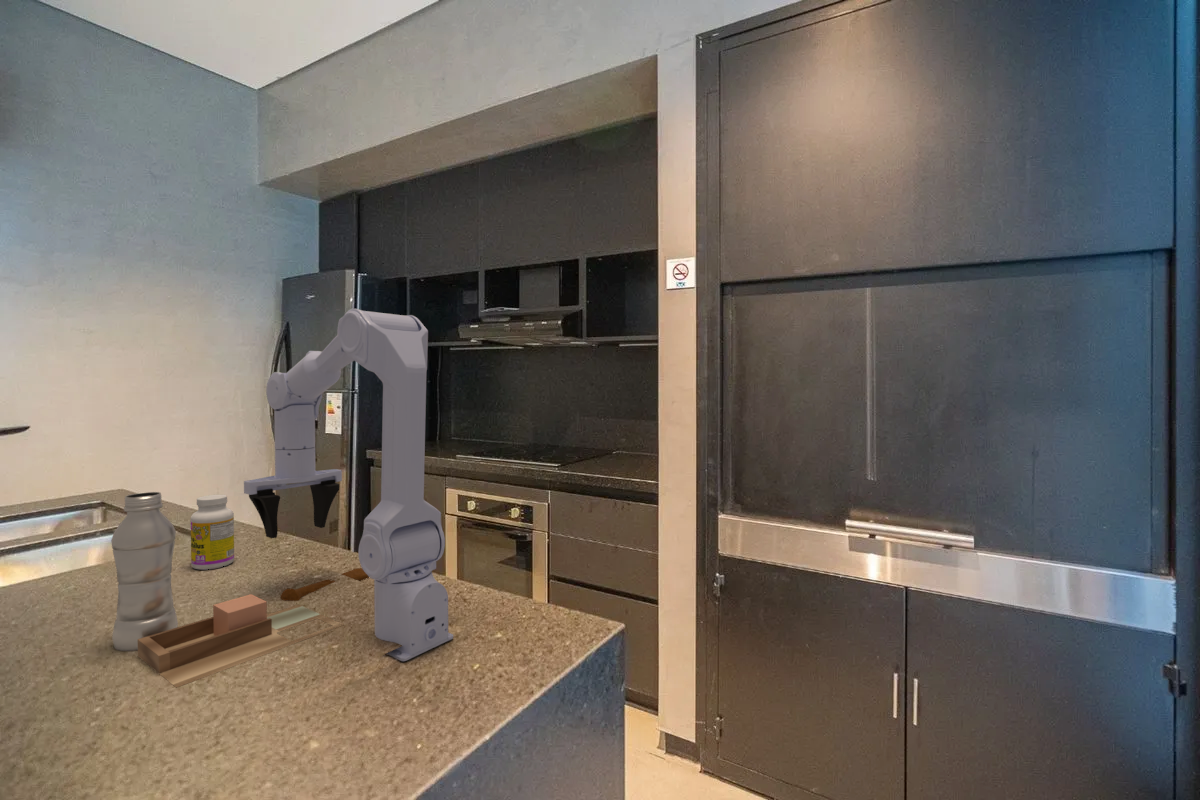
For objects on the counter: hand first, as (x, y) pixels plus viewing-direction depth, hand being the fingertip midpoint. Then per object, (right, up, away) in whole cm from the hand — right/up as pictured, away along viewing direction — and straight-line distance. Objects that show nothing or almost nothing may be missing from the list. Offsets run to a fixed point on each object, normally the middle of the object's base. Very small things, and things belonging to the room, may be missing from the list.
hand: (296, 531), depth 90 cm
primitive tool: (+4, -11, +3) cm, 12 cm away
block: (+2, -9, -17) cm, 20 cm away
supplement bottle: (-23, -10, +14) cm, 29 cm away
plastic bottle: (-9, -11, -19) cm, 24 cm away
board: (+4, -11, -19) cm, 22 cm away
